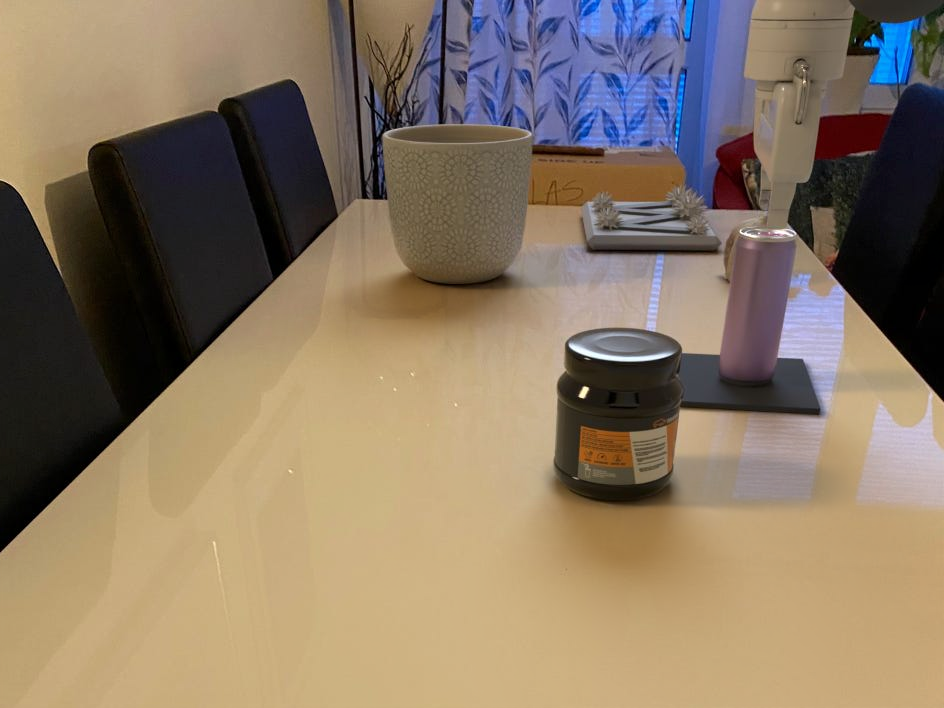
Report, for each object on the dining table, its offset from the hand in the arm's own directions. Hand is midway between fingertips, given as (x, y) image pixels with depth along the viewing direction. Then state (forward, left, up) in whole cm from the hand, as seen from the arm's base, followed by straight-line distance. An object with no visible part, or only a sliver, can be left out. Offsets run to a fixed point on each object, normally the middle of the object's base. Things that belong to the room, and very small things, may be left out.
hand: (771, 218), depth 98 cm
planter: (+39, -42, -17) cm, 60 cm away
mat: (0, 0, -17) cm, 17 cm away
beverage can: (0, 0, -17) cm, 17 cm away
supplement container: (+13, +27, -17) cm, 34 cm away
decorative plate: (+12, -76, -17) cm, 79 cm away
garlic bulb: (-3, -45, -17) cm, 48 cm away
